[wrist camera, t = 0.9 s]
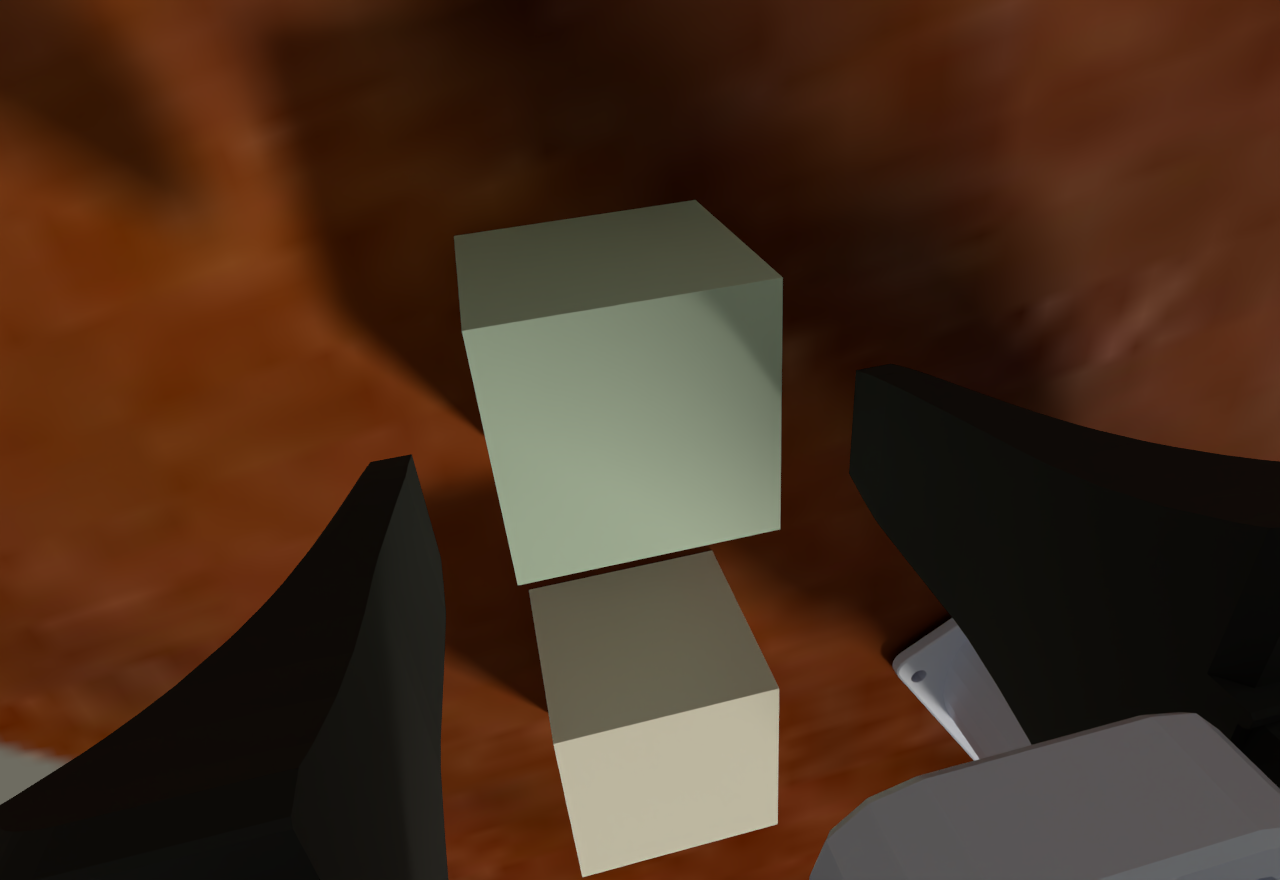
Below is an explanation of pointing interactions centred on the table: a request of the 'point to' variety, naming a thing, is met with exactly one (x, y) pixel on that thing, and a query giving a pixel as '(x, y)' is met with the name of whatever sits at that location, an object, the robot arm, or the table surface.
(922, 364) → the table surface
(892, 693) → the table surface
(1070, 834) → the robot arm
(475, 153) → the table surface
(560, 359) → the sage green block
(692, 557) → the cream block
